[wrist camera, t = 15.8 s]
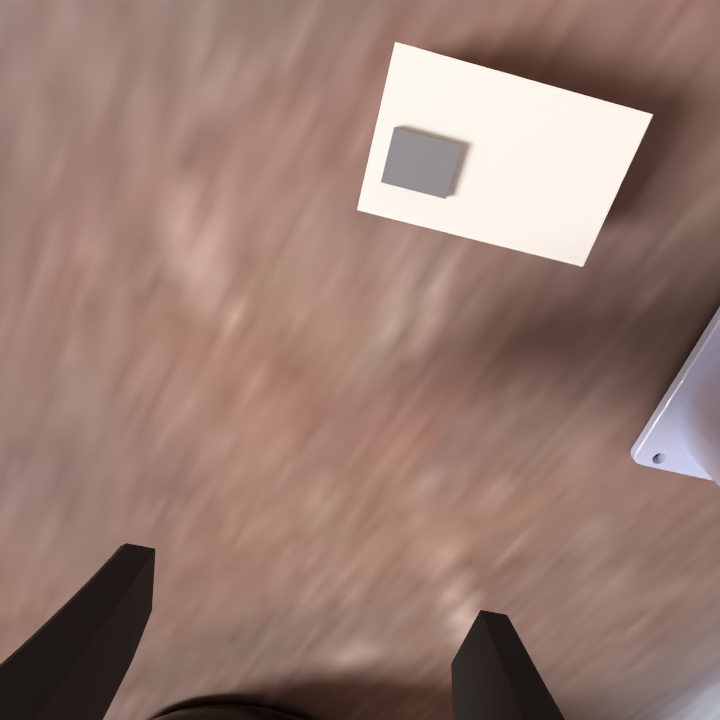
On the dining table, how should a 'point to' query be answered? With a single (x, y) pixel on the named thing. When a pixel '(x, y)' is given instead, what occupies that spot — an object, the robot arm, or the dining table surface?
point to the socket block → (496, 156)
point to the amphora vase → (227, 713)
